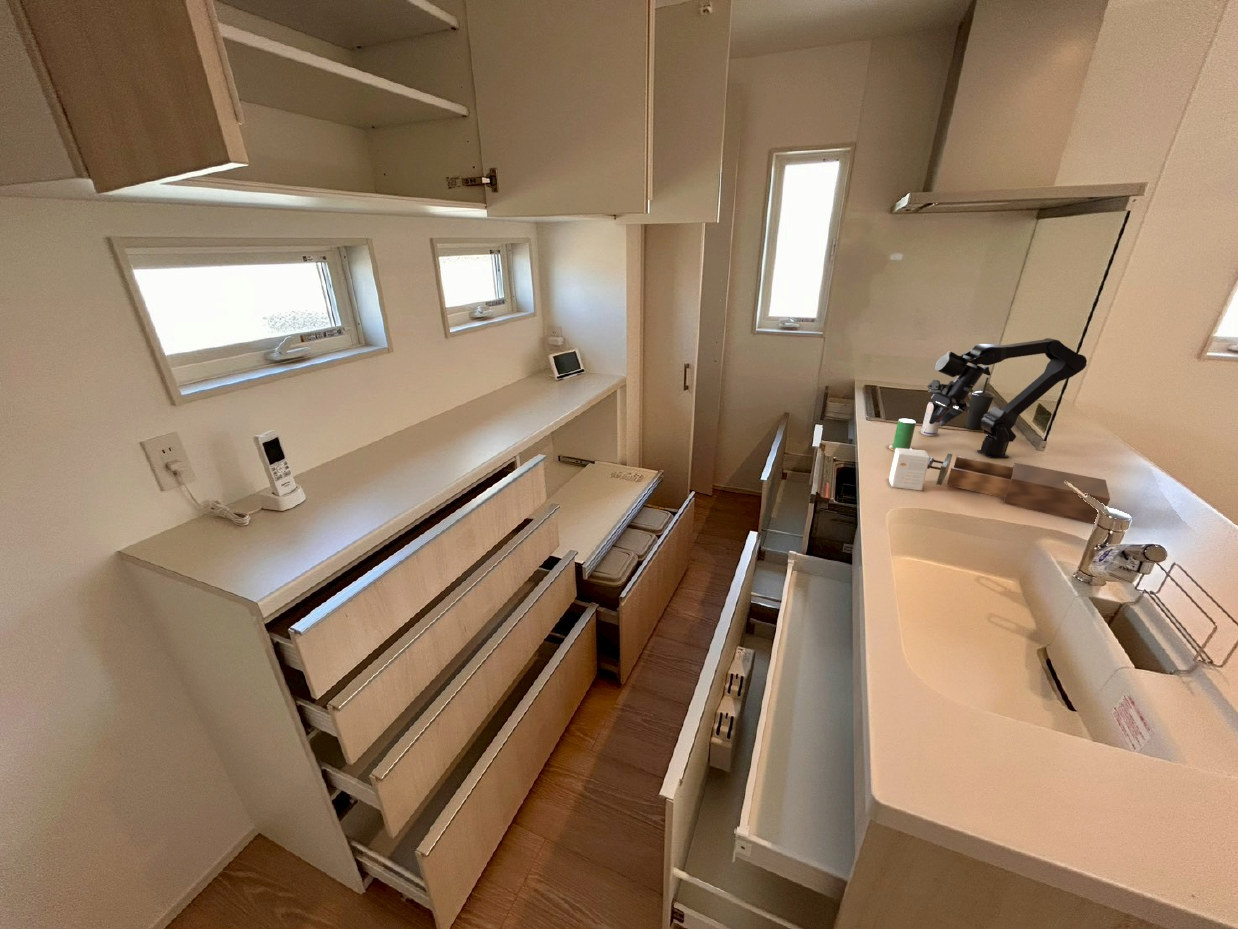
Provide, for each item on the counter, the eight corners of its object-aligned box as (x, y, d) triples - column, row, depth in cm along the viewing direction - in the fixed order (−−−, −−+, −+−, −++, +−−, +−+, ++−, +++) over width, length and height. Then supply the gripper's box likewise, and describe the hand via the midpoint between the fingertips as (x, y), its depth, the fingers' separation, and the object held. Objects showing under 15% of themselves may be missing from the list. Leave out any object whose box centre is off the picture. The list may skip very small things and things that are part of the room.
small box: (918, 483, 147) (926, 450, 143) (922, 491, 142) (930, 457, 138) (888, 479, 149) (895, 447, 145) (891, 487, 145) (898, 453, 141)
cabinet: (1003, 503, 135) (1011, 478, 132) (1007, 485, 145) (1014, 462, 142) (1099, 525, 124) (1110, 498, 121) (1095, 504, 134) (1105, 479, 131)
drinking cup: (977, 432, 190) (992, 380, 182) (957, 426, 196) (971, 376, 189) (989, 429, 193) (1004, 378, 186) (968, 423, 200) (982, 374, 192)
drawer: (920, 480, 147) (924, 462, 145) (928, 467, 156) (932, 450, 154) (1014, 502, 134) (1021, 482, 132) (1017, 485, 143) (1023, 467, 141)
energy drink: (939, 436, 185) (947, 405, 181) (923, 435, 186) (931, 404, 182) (933, 432, 190) (941, 401, 185) (918, 431, 191) (925, 401, 186)
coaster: (904, 445, 177) (904, 444, 177) (917, 452, 170) (917, 451, 170) (883, 445, 177) (884, 444, 176) (896, 453, 170) (896, 452, 169)
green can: (912, 449, 172) (919, 421, 168) (903, 452, 170) (910, 424, 166) (897, 444, 177) (904, 417, 173) (888, 447, 174) (894, 419, 170)
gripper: (950, 376, 172) (923, 415, 178) (930, 368, 160) (902, 411, 166) (982, 389, 165) (953, 431, 171) (964, 383, 153) (934, 427, 159)
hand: (935, 424), depth 167 cm, fingers open, 9 cm apart
